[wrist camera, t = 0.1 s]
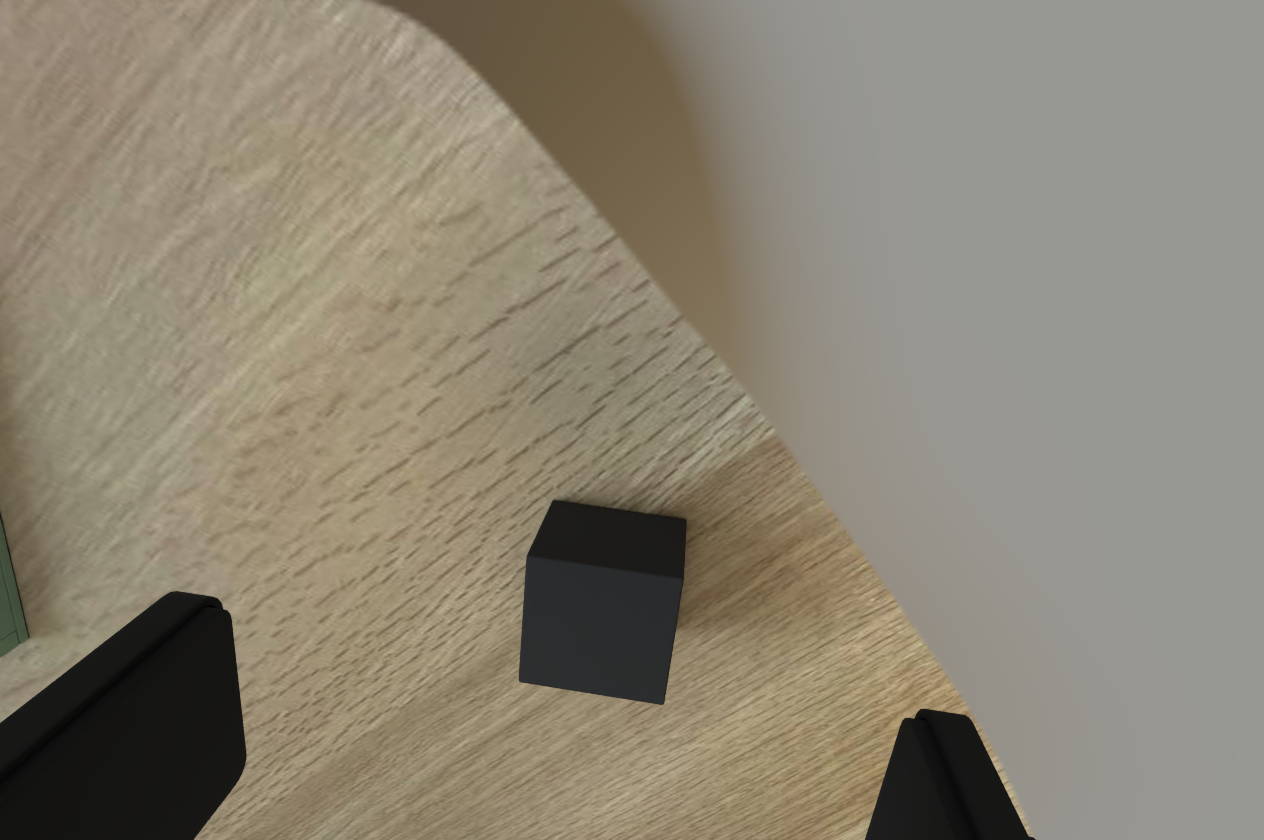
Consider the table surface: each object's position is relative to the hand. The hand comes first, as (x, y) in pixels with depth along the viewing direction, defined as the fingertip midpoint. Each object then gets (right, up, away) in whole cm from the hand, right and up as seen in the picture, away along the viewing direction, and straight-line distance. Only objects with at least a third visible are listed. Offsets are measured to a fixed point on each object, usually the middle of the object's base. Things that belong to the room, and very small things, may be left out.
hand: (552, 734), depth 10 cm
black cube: (0, -1, +17) cm, 17 cm away
